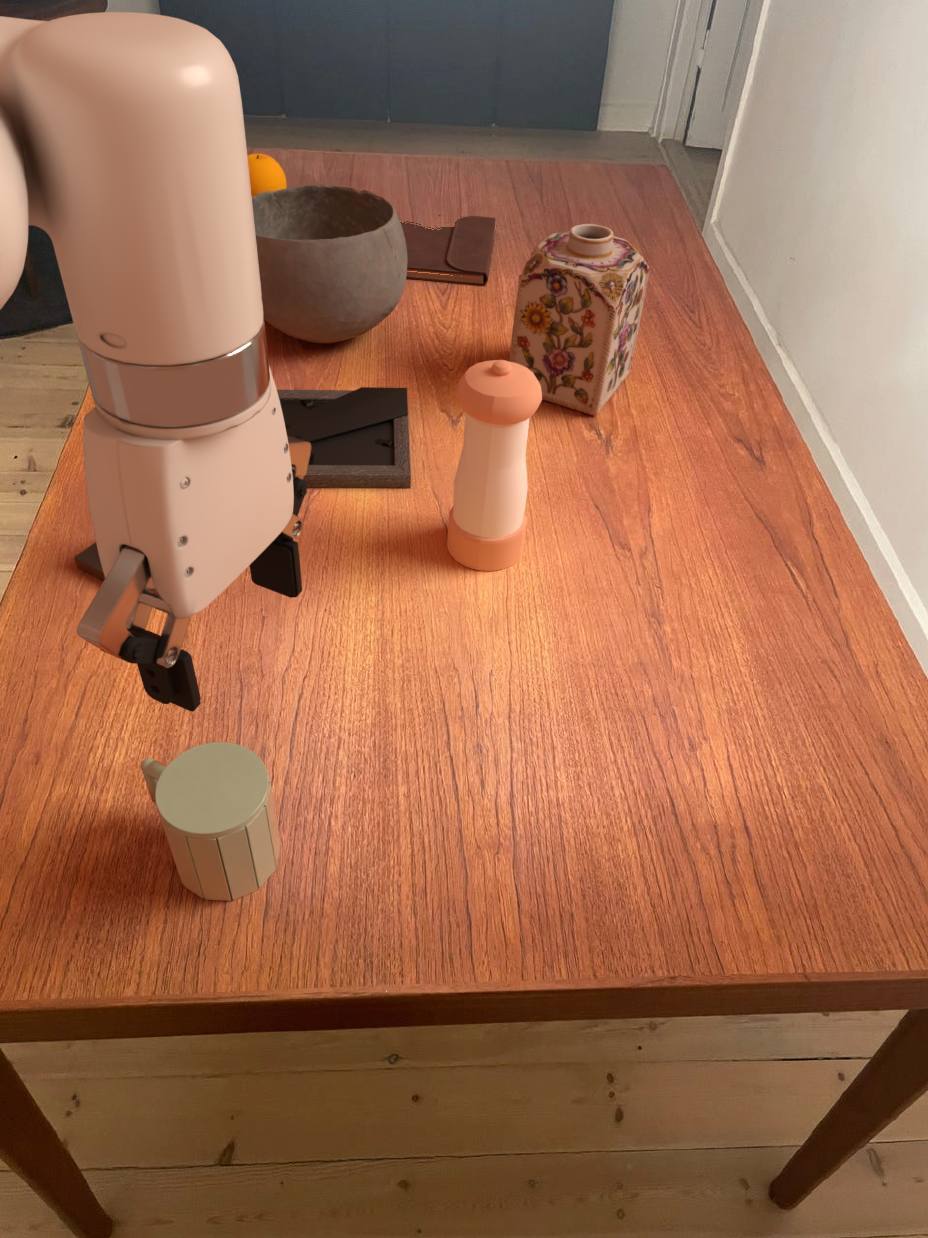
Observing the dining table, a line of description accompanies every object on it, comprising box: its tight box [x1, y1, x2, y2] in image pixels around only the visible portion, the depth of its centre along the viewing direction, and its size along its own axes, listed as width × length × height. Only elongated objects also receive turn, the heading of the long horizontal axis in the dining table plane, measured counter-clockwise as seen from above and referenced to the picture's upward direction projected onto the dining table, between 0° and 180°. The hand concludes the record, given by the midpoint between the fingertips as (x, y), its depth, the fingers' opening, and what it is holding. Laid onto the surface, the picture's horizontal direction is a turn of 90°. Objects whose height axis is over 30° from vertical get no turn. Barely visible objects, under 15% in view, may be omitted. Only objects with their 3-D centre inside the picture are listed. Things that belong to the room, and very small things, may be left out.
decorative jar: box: [508, 223, 651, 417], centre depth 102 cm, size 12×12×18 cm
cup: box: [140, 741, 282, 902], centre depth 59 cm, size 7×10×8 cm
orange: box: [247, 153, 288, 196], centre depth 139 cm, size 8×8×8 cm
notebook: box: [400, 215, 498, 287], centre depth 132 cm, size 15×20×2 cm
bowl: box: [252, 184, 408, 344], centre depth 109 cm, size 20×20×15 cm
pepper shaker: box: [446, 359, 543, 572], centre depth 79 cm, size 7×7×19 cm
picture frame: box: [277, 386, 412, 489], centre depth 96 cm, size 16×2×21 cm
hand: (228, 639), depth 51 cm, fingers open, 9 cm apart
